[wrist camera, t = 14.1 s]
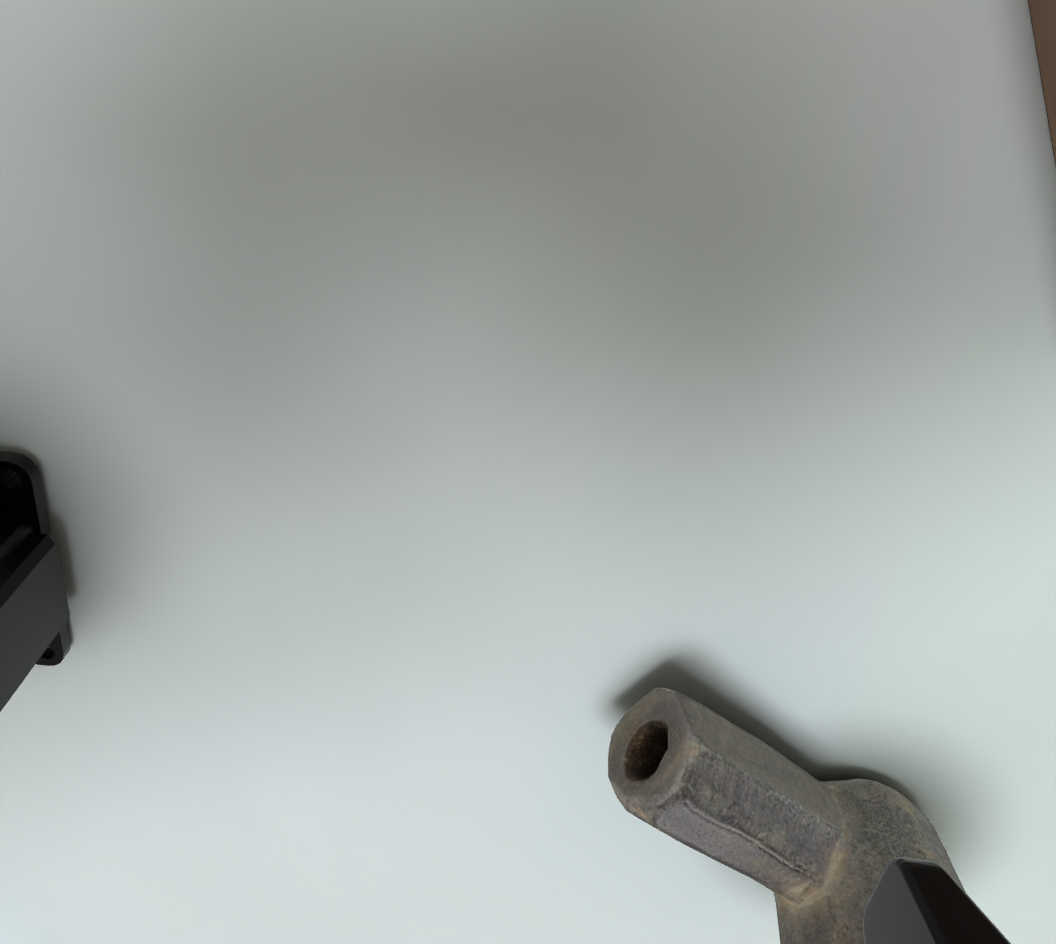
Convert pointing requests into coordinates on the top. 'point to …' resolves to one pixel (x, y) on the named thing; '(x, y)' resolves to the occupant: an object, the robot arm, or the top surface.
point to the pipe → (766, 814)
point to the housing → (1046, 55)
